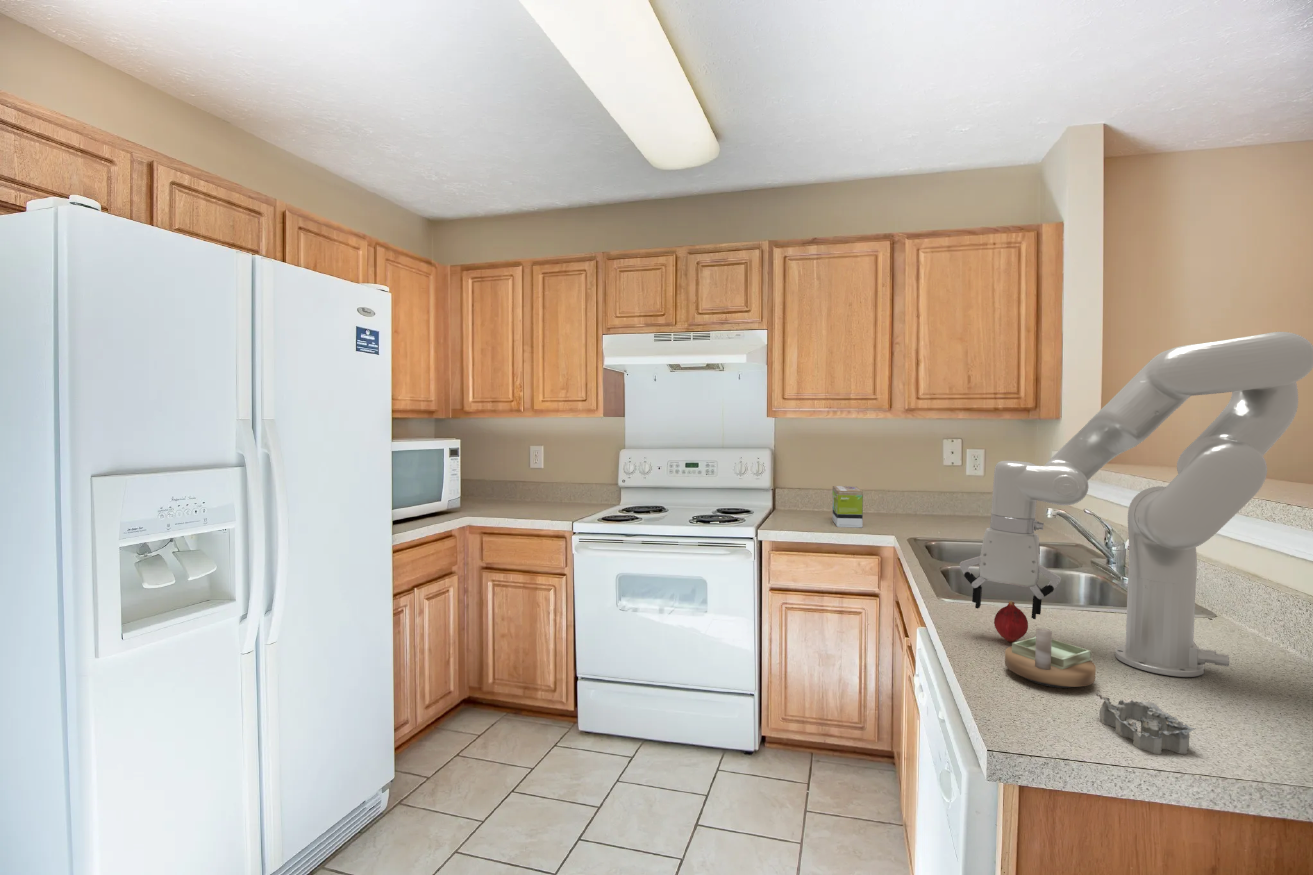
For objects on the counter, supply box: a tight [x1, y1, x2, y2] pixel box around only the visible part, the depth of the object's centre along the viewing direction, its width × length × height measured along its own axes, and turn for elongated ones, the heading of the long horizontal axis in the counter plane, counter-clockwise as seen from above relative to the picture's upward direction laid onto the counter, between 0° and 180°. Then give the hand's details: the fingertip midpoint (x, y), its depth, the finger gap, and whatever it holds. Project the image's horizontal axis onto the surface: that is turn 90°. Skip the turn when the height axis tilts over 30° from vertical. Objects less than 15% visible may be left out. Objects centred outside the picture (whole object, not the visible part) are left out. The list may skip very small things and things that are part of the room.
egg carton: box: [1095, 692, 1197, 755], centre depth 90 cm, size 11×8×4 cm
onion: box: [993, 600, 1029, 643], centre depth 126 cm, size 6×6×8 cm
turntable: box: [1004, 627, 1097, 688], centre depth 109 cm, size 13×13×8 cm
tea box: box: [832, 485, 864, 529], centre depth 259 cm, size 15×10×15 cm, turn 172°
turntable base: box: [1023, 677, 1071, 689], centre depth 109 cm, size 8×8×1 cm
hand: (1005, 611), depth 126 cm, fingers open, 9 cm apart
